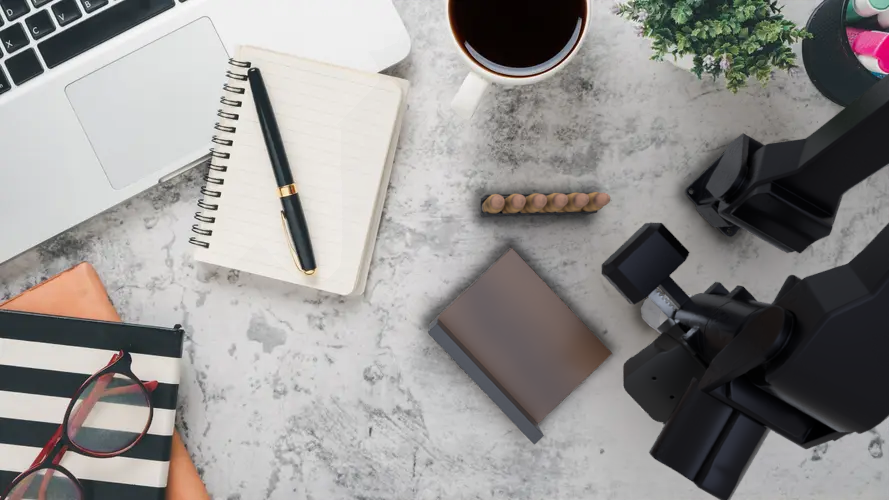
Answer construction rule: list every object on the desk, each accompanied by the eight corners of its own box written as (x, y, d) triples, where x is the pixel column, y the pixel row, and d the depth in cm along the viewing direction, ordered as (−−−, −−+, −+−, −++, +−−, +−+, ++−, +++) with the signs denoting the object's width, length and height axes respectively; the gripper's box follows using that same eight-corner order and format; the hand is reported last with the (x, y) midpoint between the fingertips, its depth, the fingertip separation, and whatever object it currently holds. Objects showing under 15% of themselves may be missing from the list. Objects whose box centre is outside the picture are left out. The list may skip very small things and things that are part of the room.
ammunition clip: (588, 196, 65) (619, 186, 53) (588, 214, 65) (619, 209, 53) (480, 198, 65) (487, 188, 53) (481, 216, 65) (488, 211, 53)
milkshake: (682, 339, 65) (724, 357, 55) (629, 328, 65) (662, 344, 55) (691, 294, 65) (735, 304, 55) (639, 283, 65) (673, 291, 55)
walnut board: (509, 247, 65) (516, 248, 59) (606, 349, 65) (623, 361, 59) (429, 323, 65) (427, 332, 59) (526, 424, 65) (534, 444, 59)
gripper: (571, 321, 47) (541, 301, 63) (750, 510, 47) (675, 442, 63) (685, 214, 47) (626, 221, 62) (864, 403, 47) (761, 362, 62)
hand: (670, 314), depth 62 cm, fingers open, 9 cm apart
